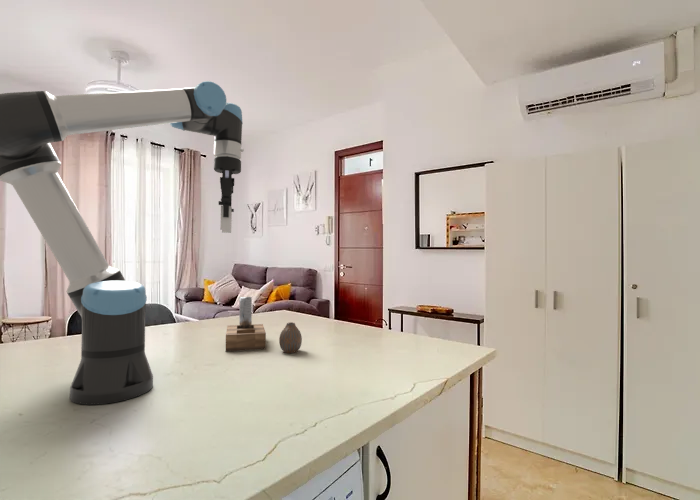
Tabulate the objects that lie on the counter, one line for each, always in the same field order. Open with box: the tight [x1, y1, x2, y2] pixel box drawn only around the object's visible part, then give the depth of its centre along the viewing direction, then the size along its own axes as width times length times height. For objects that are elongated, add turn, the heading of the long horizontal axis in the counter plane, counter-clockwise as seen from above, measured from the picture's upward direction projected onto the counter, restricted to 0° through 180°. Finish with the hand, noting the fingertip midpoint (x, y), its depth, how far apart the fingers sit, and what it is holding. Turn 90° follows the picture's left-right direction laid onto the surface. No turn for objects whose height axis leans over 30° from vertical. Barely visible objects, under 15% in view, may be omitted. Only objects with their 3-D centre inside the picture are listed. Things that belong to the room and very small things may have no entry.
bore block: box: [225, 323, 267, 352], centre depth 125 cm, size 16×12×5 cm
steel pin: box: [238, 296, 253, 329], centre depth 128 cm, size 4×4×14 cm
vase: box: [278, 321, 303, 354], centre depth 116 cm, size 7×7×9 cm
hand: (226, 231), depth 109 cm, fingers open, 13 cm apart
